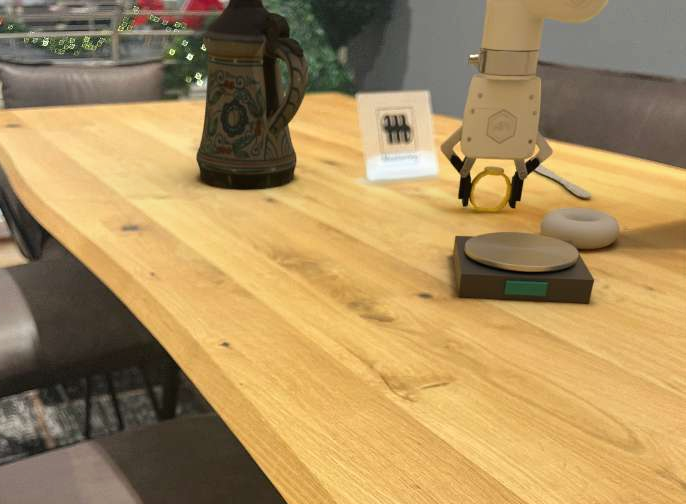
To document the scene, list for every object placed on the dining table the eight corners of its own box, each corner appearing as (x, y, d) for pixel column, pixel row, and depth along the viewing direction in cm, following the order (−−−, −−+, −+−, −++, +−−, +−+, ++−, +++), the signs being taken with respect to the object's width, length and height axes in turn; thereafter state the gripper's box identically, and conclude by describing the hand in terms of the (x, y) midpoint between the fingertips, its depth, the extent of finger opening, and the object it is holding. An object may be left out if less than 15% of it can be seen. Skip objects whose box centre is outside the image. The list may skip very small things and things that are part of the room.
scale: (567, 261, 94) (572, 237, 92) (589, 304, 82) (595, 278, 80) (452, 256, 95) (455, 232, 93) (458, 298, 83) (461, 272, 81)
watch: (469, 214, 111) (474, 170, 107) (464, 209, 113) (470, 166, 110) (509, 213, 111) (516, 170, 108) (504, 208, 113) (511, 165, 110)
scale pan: (567, 239, 91) (568, 234, 91) (587, 274, 81) (588, 269, 81) (461, 234, 92) (462, 229, 92) (467, 269, 82) (468, 263, 82)
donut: (533, 248, 98) (615, 256, 95) (537, 221, 96) (621, 228, 93) (542, 227, 106) (618, 234, 103) (546, 202, 104) (623, 207, 101)
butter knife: (576, 195, 117) (595, 194, 118) (521, 160, 139) (536, 159, 140) (576, 199, 118) (594, 198, 118) (520, 163, 140) (536, 162, 140)
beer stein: (215, 164, 135) (205, -4, 121) (322, 170, 132) (325, -2, 118) (183, 186, 122) (168, 0, 108) (302, 194, 119) (302, 3, 105)
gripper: (443, 66, 99) (429, 209, 109) (579, 69, 97) (552, 214, 108) (441, 60, 105) (428, 196, 115) (569, 63, 104) (544, 201, 114)
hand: (488, 204), depth 112 cm, fingers closed on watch, 6 cm apart
